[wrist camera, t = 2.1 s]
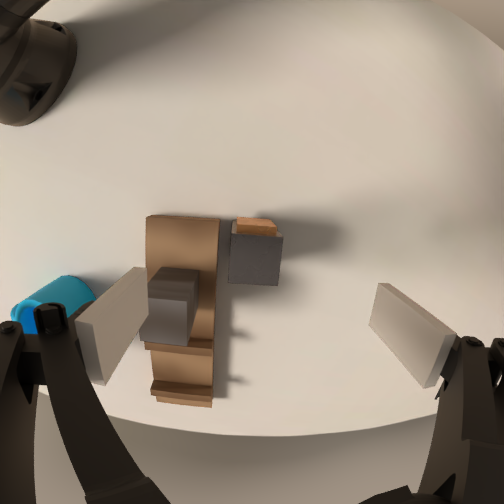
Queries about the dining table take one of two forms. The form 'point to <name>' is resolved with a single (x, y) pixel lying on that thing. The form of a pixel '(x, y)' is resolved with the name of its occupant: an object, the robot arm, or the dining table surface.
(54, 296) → the mug
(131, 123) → the dining table surface
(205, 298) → the rail
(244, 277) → the dark grey upright block
